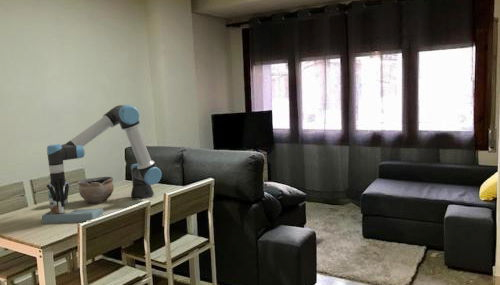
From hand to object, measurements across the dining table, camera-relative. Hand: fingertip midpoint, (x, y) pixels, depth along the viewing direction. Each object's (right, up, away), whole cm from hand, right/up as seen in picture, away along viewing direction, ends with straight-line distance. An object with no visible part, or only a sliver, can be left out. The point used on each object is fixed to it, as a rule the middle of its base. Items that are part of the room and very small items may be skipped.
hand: (61, 212), depth 239 cm
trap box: (+6, -4, +4) cm, 8 cm away
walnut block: (-3, -2, +2) cm, 4 cm away
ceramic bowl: (+6, 0, +41) cm, 41 cm away
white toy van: (-18, -1, +37) cm, 41 cm away
